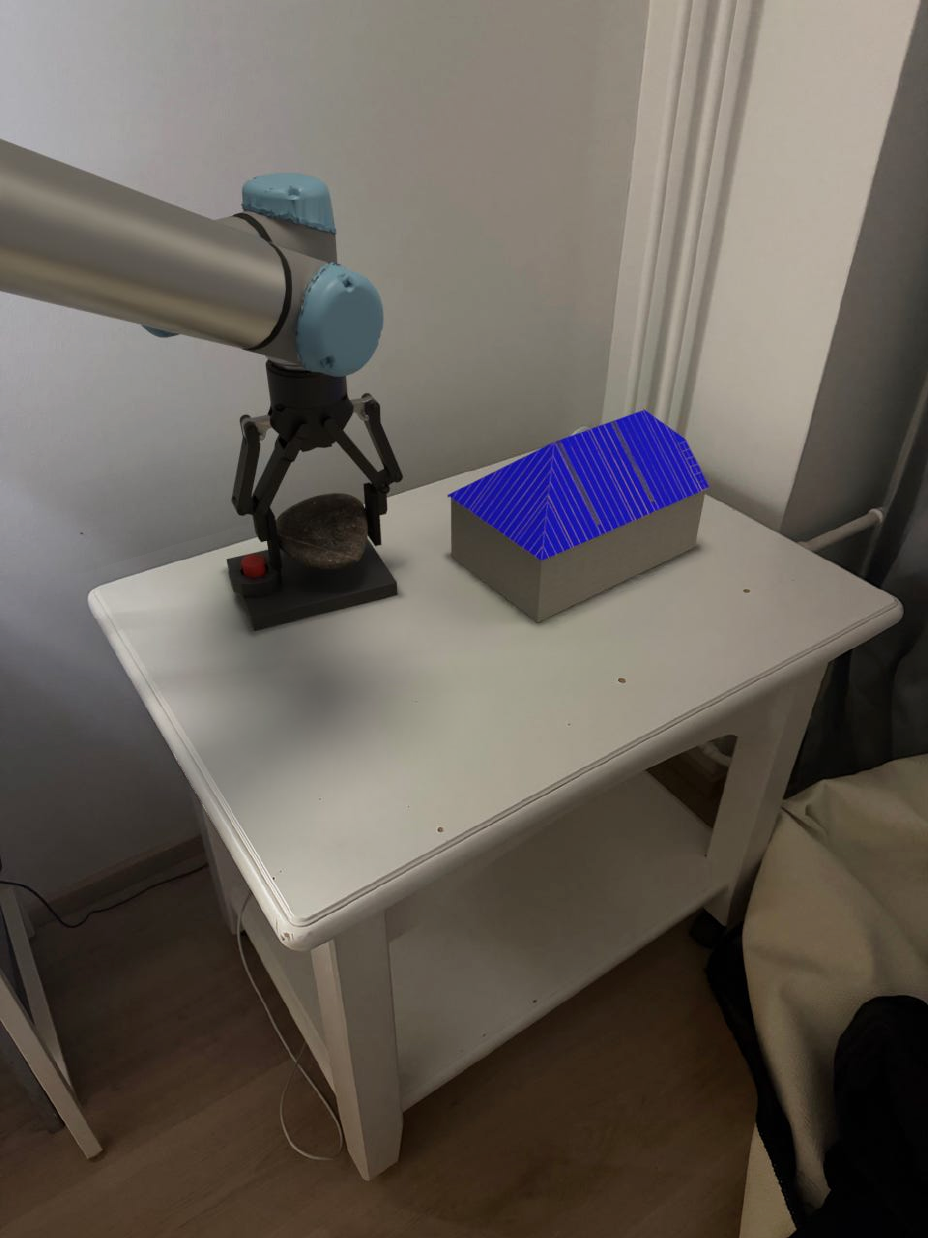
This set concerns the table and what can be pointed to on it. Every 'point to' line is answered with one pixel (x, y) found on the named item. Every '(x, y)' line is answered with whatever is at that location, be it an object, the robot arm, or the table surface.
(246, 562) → the tare button
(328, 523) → the stone
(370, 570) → the scale
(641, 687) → the table surface
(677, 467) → the house
